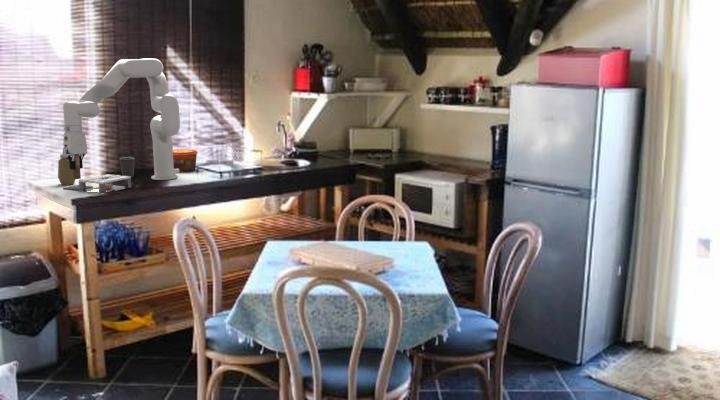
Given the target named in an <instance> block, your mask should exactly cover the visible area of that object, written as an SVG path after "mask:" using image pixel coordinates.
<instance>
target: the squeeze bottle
mask: <svg viewBox="0 0 720 400" xmlns="http://www.w3.org/2000/svg"><path fill="white" fill-rule="evenodd" d="M63 153H64V146H63V148H62V154H61V153H60V155H59V157H60V159H58V164H57V165H58V166H57V178H58V180H59V182H60V185H63V186H73V185H75V182H76V179H73V174H72V169H70V164H69V161H68V159H67V158H66V157H64V156H63Z"/></svg>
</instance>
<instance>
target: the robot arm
mask: <svg viewBox="0 0 720 400" xmlns="http://www.w3.org/2000/svg"><path fill="white" fill-rule="evenodd" d="M130 78H132V79H135V78H137V79H140V78H146V81H147V82H148V86H149V93H150V95H149V96H150V106H151V109H152V110H153V111H154V112H155V113H160V115H156V116H154V117H153V118H152V119H151V120H150V125H149V127H150V133H151V139H152V151H153V153H152V154H153V171H154V173H153V174H154V175H151V177H150V178H151V179H152V180H154V181H168V180H175V179H178V175H177V174H176V173H180V172H179V169H175V168H174V164H173V150H174V148H173V146H174V144H173V138H172V136H173V137H174V136H176V135H177V134H178V132H179V131H180V128H181V127H180V126H181V118H180V106H179V102H178V100H177V98H176V97H175V96H174V95H173V94H169V89H168V82H167V78H166V76H165V74H164V66H163V62H161V60H159V59H157V58H148V57H147V58H139V59H137V58H135V59H131V58H130V59H128V58H127V59H126V58H125V59H124V58H123V59H119V60H118V61H117V62H116V63H115V64H114V65H113V66H112V67H111V69H110V70H109V71H108V72H107V73H106V74H105V75H104V76H103V78H102V79H101V80H100V81H98V82H97V83H96V84H95V85H93V86H92V87H91V88H90V89H89V90H87V91H86V92H85V93H84V94H83V96H81V98H80V99H79V100H78V101H67V102H64V103H63V107H62V108H63V122H64V127H63V131H64V132H63V147H64V153H63V152H62V154H63V156H64V157H66V158H67V159H68V161H69V164H70V169H72V170H76V162H75V161H74V154H79V159H80V170H81V169H83V168H84V166H83V160H84V158H85V156H86V155H87V154H88V146H87V145H88V144H87V137H86V134H85V131H84V130H83V118H91V119H92V118H96V117H98V116H99V115H100V114H101V106H100V104H99V103H100V102H101V101H104V99H106V98H108V97H111V96H113V95H114V94H116V93H117V92H118V91H119V90H120V89H121V87H123V85H124V84H125V83H126V82H127V81H128V80H129V79H130ZM71 155H72V157H71Z"/></svg>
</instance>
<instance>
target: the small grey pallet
mask: <svg viewBox="0 0 720 400" xmlns="http://www.w3.org/2000/svg"><path fill="white" fill-rule="evenodd" d="M118 181H124V186H123V185H114V184H113V183H114V182H118ZM86 183H89V184H98V186H97V187H93V188H89V189H86V186H87V184H86ZM106 184H110V189H108V190H109V191H110V190H111V191H112V190H115V191H114V192H117V191H121V190H125V189H130V188H132V177H131V176H122V175H120V174H109V173H107V174H102V175H98V176H97V175H96V176H92V177H87V178H83V179H82V178H81V179H78V185H79V191H78V192H82V191H83V193H86V192H85V191H91V190H93V189H99V193H98V194H101V193H104V194H107V193H106ZM108 190H107V191H108Z"/></svg>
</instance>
